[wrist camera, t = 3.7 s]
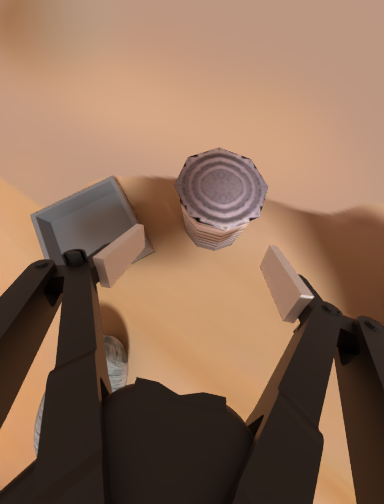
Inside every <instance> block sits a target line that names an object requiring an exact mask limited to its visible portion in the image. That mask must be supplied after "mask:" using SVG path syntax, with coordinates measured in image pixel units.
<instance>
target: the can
mask: <svg viewBox="0 0 384 504" xmlns="http://www.w3.org/2000/svg"><path fill="white" fill-rule="evenodd" d="M175 188H176V190H177V192H178V194H179V196H180V202H181V208H182V213H183V218H184V224H185V229H186V233H187V234H188V236H189V237H190V238H191V239H192V241H193V242H194V243H195V244H196V246H198V247H202V248H205V249H209V250H212V251H216V250H219V249H221V248H224V247H227V246H230V245H232V243H233V242H234V241H235V240H236V238H237V237H238V236H239V235H240V234H241V232H242V231H243V230H244V229H245V227H246V226H247V225H248V224H249V222H250V221H251V220H253V219H256V218H258V217H259V216H260V213H261V209H262V206H263V203H264V200H265V196H266V193H267V189H268V186H267V184H266V183H265V181H264V180H263V178H262V176H261V175H260V173H259V171H258V170H257V168H256V167H255V165H254V163H253V162H252V160H251V159H249V158H246V157H243V156H241V155H238V154H235V153H232V152H230V151H227V150H224V149H221V148H216V149H213V150H210V151H207V152H204V153H200V154H197V155H194V156H190V157H188V159H187V160H186V163H185V164H184V167H183V169H182V171H181V173H180V175H179V177H178V179H177V181H176V183H175Z"/></svg>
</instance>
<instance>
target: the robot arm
mask: <svg viewBox="0 0 384 504" xmlns="http://www.w3.org/2000/svg"><path fill="white" fill-rule="evenodd" d="M144 248H145V238H144V225H142V224H136V225H134V226H133V227H132V228H130V229H129V230H128V231H126V232H125V233H124V234H123V235H121V236H120V237H119V238H117V239H116V240H115V241H113V242H112V243H107V244H104V245H103V246H101V247H100V248H98V249H97V250H96V251H94V252H93V253H92V254H90V255H89V256H87V254H86V251H85V250H83V249H71V250H68V251H66V252H64V253H63V254H62V255H61V256H62V259H63V261H64V263H65V265H56V264H55V262H54V261H53V260H51V259H44V260H38V261H36V262H34V263H32V264H30V265H29V266H28V267H27V268H26V269H25V270H24V272H23V273H22V274H21V275H20V276H19V277H18V278H17V279H16V280H15V281H14V282H13V284H12V285H11V286H10V287H9V288H8V289H7V290H6V291H5V292H4V293H3V294H2V295H1V297H0V428H1V427H2V425H3V423H4V421H5V419H6V417H7V415H8V413H9V411H10V409H11V406H12V404H13V402H14V400H15V398H16V396H17V394H18V392H19V390H20V388H21V385H22V383H23V381H24V379H25V377H26V375H27V373H28V371H29V369H30V367H31V365H32V362H33V360H34V358H35V356H36V354H37V352H38V350H39V348H40V346H41V344H42V341H43V339H44V337H45V335H46V333H47V331H48V329H49V327H50V325H51V323H52V320H53V318H54V316H55V314H56V312H57V310H58V308H59V306H60V304H61V302H62V306H61V316H60V326H59V336H58V346H57V355H56V365H55V368H54V370H52V371H50V373H49V375H48V378H47V383H46V391H45V398H44V406H43V414H42V421H41V429H40V436H39V444H38V452H37V459H36V460H35V461H33V462H32V463H31V464H30V465H29V466H28V467H27V468H26V469H24V470H23V471H22V472H21V473H20V474H19V475H18V476H17V477H16V478H14V479H13V480H12V481H11V482H10V483H9V484H8V485H7V486H5V487H4V488H3V489H2V490H1V491H0V504H313V499H314V494H315V489H316V483H317V478H318V473H319V467H320V462H321V457H322V451H323V444H324V439H323V435H322V433H321V432H320V431H319V428H318V426H319V421H320V416H321V412H322V407H323V403H324V398H325V394H326V389H327V385H328V381H329V376H330V372H331V367H332V363H333V358H334V360H335V366H336V373H337V379H338V386H339V392H340V399H341V405H342V412H343V418H344V425H345V431H346V438H347V444H348V451H349V457H350V464H351V470H352V476H353V483H354V489H355V496H356V502H357V504H384V327H383V326H382V325H381V324H380V323H379V322H377V321H375V320H373V319H371V318H369V317H366V316H359V317H357V318H356V319H355V320H354V319H351V318H349V317H346V316H344V315H342V313H341V311H340V310H339V309H338V308H337V307H335V306H334V305H332V304H330V303H328V302H325V301H323V300H322V299H321V297H320V296H319V295H318V294H317V292H316V291H315V290H314V289H313V287H312V286H311V285H310V283H309V282H308V281H307V279H305V278H304V277H303V276H302V275H299V274H297V272H296V271H295V270H294V268H293V267H292V266H291V264H290V263H289V262H288V260H287V259H286V258H285V256H284V255H283V253H282V252H281V251H280V249H279V248H278V247H277V246H273V245H269V247H268V249H267V252H266V254H265V256H264V258H263V261H262V263H261V265H260V268H261V271H262V273H263V275H264V278H265V280H266V282H267V285H268V287H269V290H270V292H271V294H272V297H273V299H274V301H275V304H276V306H277V308H278V311H279V313H280V316H281V318H282V320H283V321H285V322H291V323H294V322H295V321H296V319H297V318H298V319H299V321H300V324H299V325H298V327H297V328H296V329H295V330H294V331H293V332H294V335H293V336H292V338H291V340H290V342H289V344H288V346H287V348H286V350H285V352H284V354H283V356H282V357H281V359H280V361H279V363H278V365H277V367H276V369H275V371H274V373H273V375H272V376H271V378H270V380H269V382H268V384H267V386H266V388H265V390H264V392H263V394H262V395H261V397H260V399H259V401H258V403H257V405H256V407H255V409H254V410H253V412H252V413H251V414H250V416H249V417H248V419H247V420H246V422H244V421H243V420H242V418H241V417H240V416H239V415H238V414H237V413H236V412H235V411H234V410H233V409H232V408H230V407H229V406H227V405H226V397H222V396H217V395H213V394H209V393H204V392H202V393H194V394H186V395H178V394H176V393H175V392H173V391H171V390H170V389H168V388H167V387H165V386H164V385H162V384H160V383H159V382H156V381H151V380H147V379H142V378H138V377H137V378H136V381H135V384H130V385H126V386H124V387H121V388H119V389H117V390H116V391H114V392H112V387H111V383H110V379H109V374H108V367H107V359H106V352H105V344H104V337H103V330H102V322H101V315H100V307H99V300H98V292H97V286H96V284H97V283H98V282H99V281H100V285H101V287H107V288H111V287H112V286H113V285H114V283H115V282H116V281H117V280H118V279H119V277H120V276H121V275H122V274H123V273H124V272H125V270H126V269H127V268H128V267H129V266H130V264H131V263H132V262H133V261H134V260H135V259H136V257H137V256H138V255H139V254H140V253H141V252H142V250H143V249H144Z"/></svg>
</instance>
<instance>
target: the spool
mask: <svg viewBox="0 0 384 504" xmlns="http://www.w3.org/2000/svg"><path fill="white" fill-rule="evenodd" d="M103 337H104V344H105V352H106V359H107V367H108V374H109V379H110V383H111V387H112V392H114V391H116V390H117V389H119V388H121V387H124V386H126V381H127V375H128V358H127V354H126V351H125V349H124V347H123V345H122V343H121V342H120V341H119V340H118V339H117V338H115V337H113V336H110V335H103ZM44 398H45V393H44V395H43V398H42V400H41V403H40V406H39V410H38V413H37V417H36V421H35V429H34V448H35V452H36V456H37V452H38V444H39V436H40V429H41V421H42V414H43V406H44Z"/></svg>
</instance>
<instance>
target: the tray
mask: <svg viewBox="0 0 384 504" xmlns="http://www.w3.org/2000/svg"><path fill="white" fill-rule="evenodd" d="M30 216H31V219H32V222H33V225H34V228H35V231H36V234H37V237H38V240H39V243H40V246H41V250H42V253H43V256H44V259H51V260H53V261H54V262H55V264H56V265H65V263H64V261H63V259H62V256H61V255H62V254H63V253H64V252H66V251H68V250H71V249H83V250H85V251H86V254H87V256H89V255H90V254H92V253H93V252H94V251H96V250H97V249H98V248H100V247H101V246H103V245H104V244H107V243H112V242H113V241H115V240H116V239H117V238H119V237H120V236H121V235H123V234H124V233H125V232H126V231H128V230H129V229H130V228H132V227H133V226H134V225H136V224H140V222H139V220H138V218H137V216H136V215H135V213H134V211H133V209H132V207H131V205H130V203H129V201H128V199H127V197H126V195H125V193H124V191H123V190H122V188H121V186H120V185H119V184H118V182H117V181H116V180H115V178H114V177H113V176H111V177H108V178H106V179H104V180H102V181H100V182H98V183H96V184H94V185H92V186H90V187H88V188H85V189H83V190H81V191H79V192H77V193H75V194H73V195H71V196H69V197H67V198H64V199H62V200H60V201H58V202H56V203H54V204H52V205H50V206H48V207H46V208H43V209H41V210H39V211H37V212H35V213H33V214H31V215H30ZM144 238H145V248H144V249H143V250H142V252H141V253H140V254H139V255H138V256H137V257H136V259H135V260H134V261H133V262H132V263H134V262H136V261H138V260H140V259H142V258H144V257H145V256H147V255H149V254H151V253H153V252H155V251H154V249H153V247H152V245H151V243H150V242H149V240H148V238H147V236H146V234H145V232H144ZM132 263H131V264H132ZM131 264H130V265H131Z"/></svg>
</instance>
